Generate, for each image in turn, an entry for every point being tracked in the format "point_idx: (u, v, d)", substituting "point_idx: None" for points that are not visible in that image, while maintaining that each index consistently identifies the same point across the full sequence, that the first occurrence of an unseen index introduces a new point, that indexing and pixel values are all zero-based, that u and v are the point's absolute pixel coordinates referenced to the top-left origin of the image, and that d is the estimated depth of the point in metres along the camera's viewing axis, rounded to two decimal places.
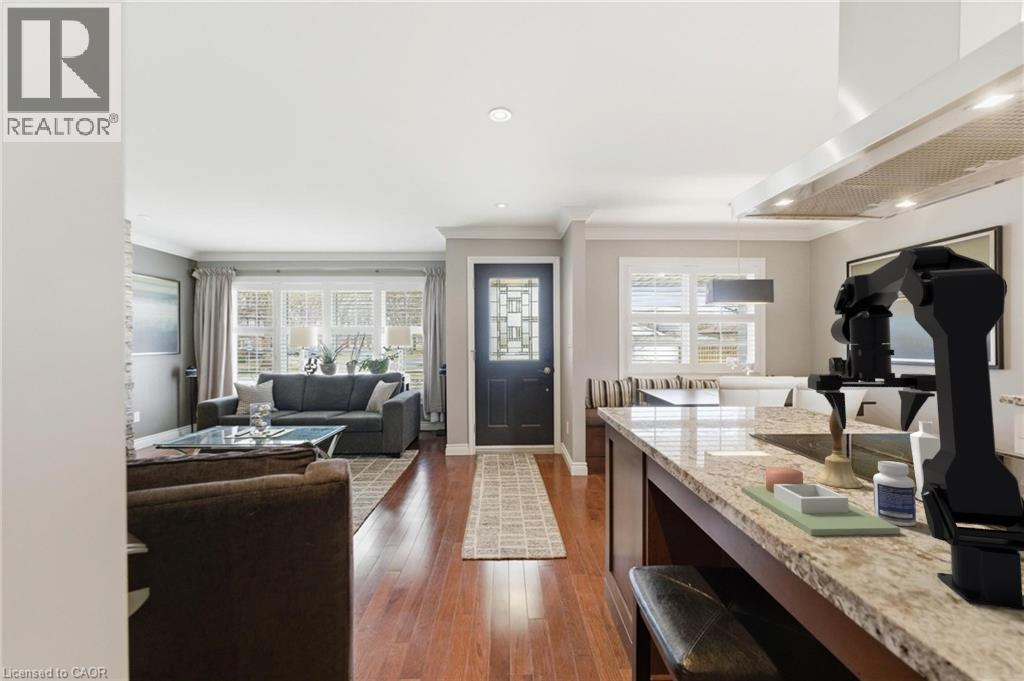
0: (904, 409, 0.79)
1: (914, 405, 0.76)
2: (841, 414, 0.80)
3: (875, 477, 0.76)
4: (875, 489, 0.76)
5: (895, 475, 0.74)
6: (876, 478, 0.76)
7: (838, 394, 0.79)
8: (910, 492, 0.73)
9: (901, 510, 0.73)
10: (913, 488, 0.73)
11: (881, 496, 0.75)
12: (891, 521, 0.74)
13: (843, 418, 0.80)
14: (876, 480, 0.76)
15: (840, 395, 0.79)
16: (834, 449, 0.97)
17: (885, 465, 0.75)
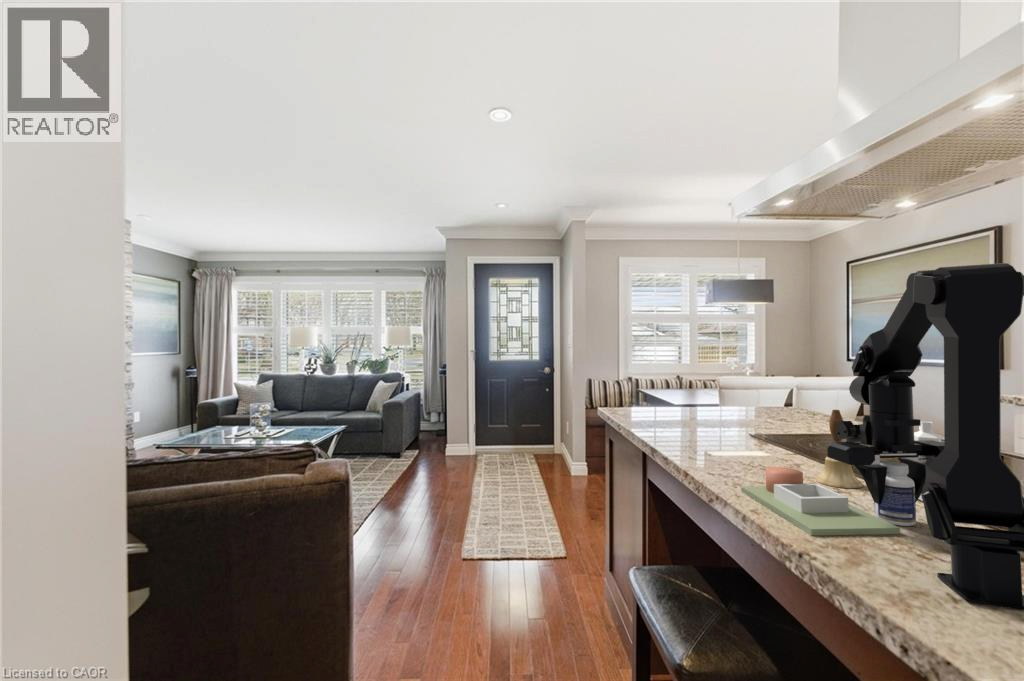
0: None
1: (926, 477, 0.73)
2: (880, 489, 0.74)
3: None
4: None
5: (895, 475, 0.74)
6: None
7: (881, 468, 0.73)
8: (910, 492, 0.73)
9: (901, 510, 0.73)
10: (913, 488, 0.73)
11: None
12: (891, 521, 0.74)
13: (881, 493, 0.74)
14: None
15: (883, 469, 0.73)
16: None
17: (885, 465, 0.75)
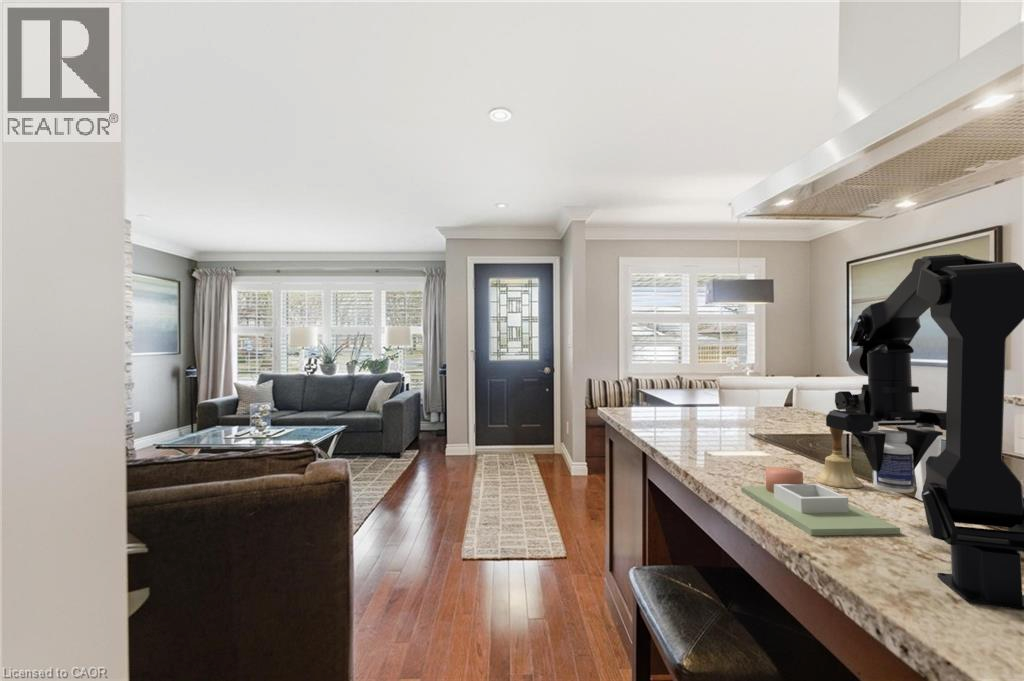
0: None
1: (924, 444, 0.74)
2: (878, 456, 0.74)
3: None
4: None
5: (893, 443, 0.74)
6: None
7: (880, 435, 0.73)
8: (909, 459, 0.73)
9: (899, 477, 0.73)
10: (911, 455, 0.73)
11: None
12: (889, 488, 0.74)
13: (880, 460, 0.74)
14: None
15: (881, 436, 0.73)
16: (834, 449, 0.97)
17: None
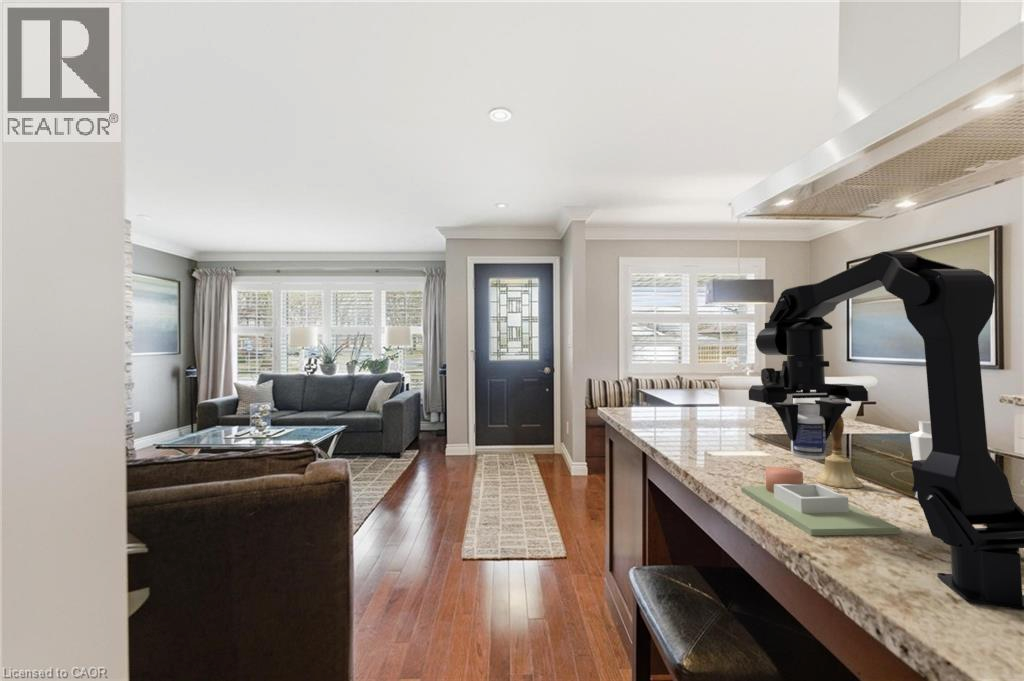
0: (824, 419, 0.81)
1: (835, 415, 0.79)
2: (793, 426, 0.80)
3: None
4: None
5: (806, 413, 0.80)
6: None
7: (793, 406, 0.79)
8: (820, 428, 0.79)
9: (811, 445, 0.79)
10: (823, 424, 0.79)
11: None
12: (803, 455, 0.80)
13: (794, 430, 0.80)
14: None
15: (794, 407, 0.79)
16: (834, 449, 0.97)
17: (799, 404, 0.81)
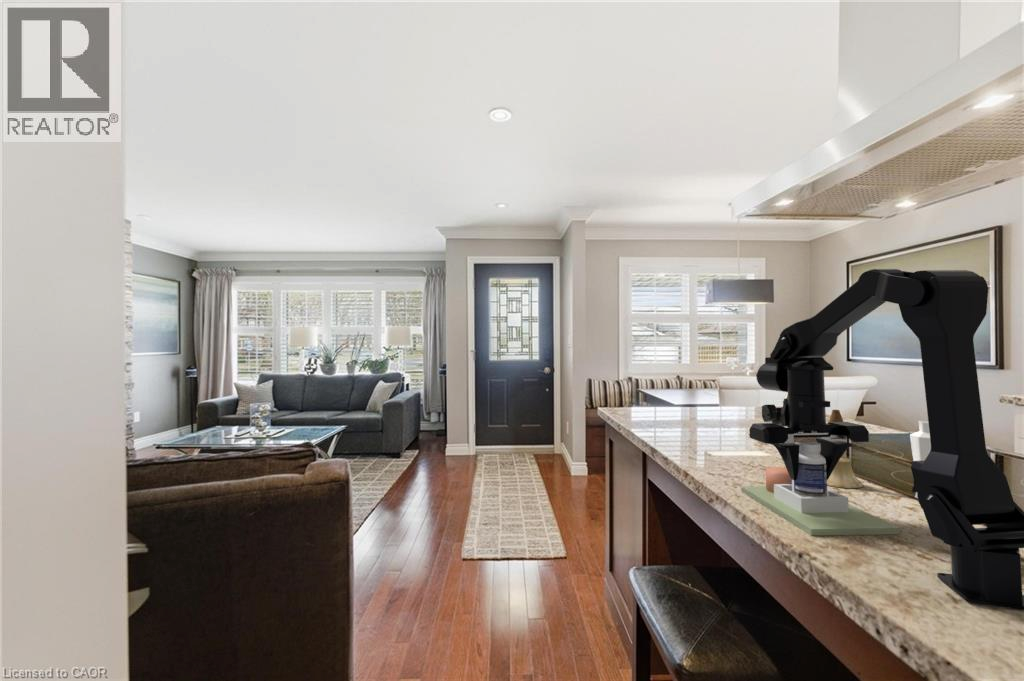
0: (825, 458, 0.81)
1: (836, 455, 0.79)
2: (794, 466, 0.80)
3: None
4: None
5: (808, 453, 0.80)
6: None
7: (794, 446, 0.78)
8: (821, 468, 0.79)
9: (812, 485, 0.79)
10: (824, 465, 0.79)
11: None
12: (804, 496, 0.79)
13: (795, 469, 0.80)
14: None
15: (795, 447, 0.78)
16: None
17: (800, 444, 0.81)
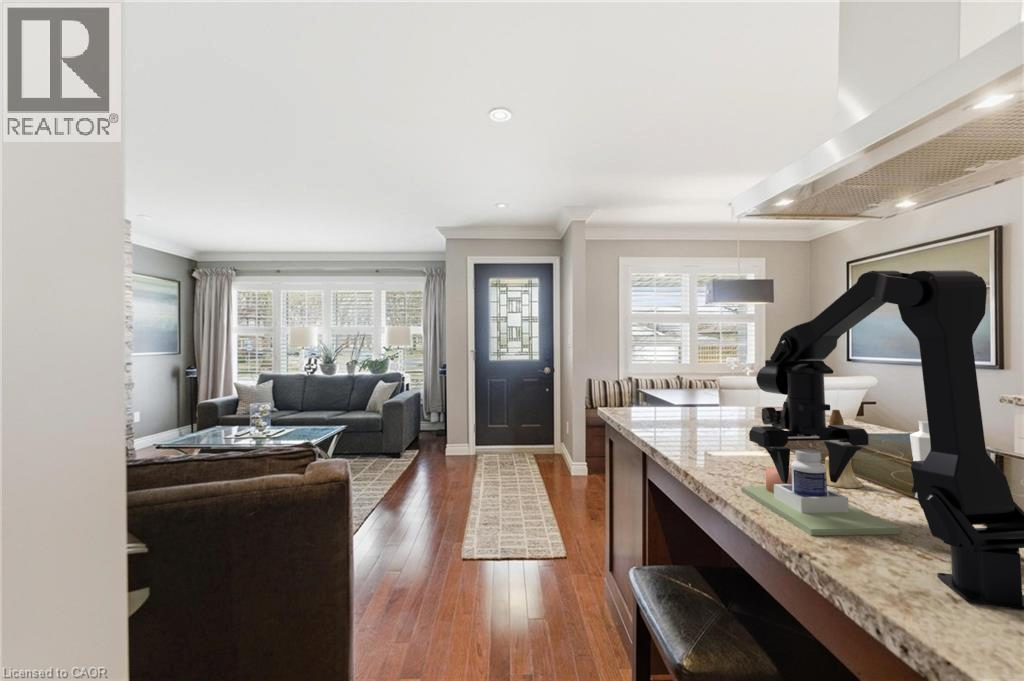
0: (833, 461, 0.81)
1: (845, 458, 0.79)
2: (785, 469, 0.80)
3: (792, 464, 0.82)
4: (792, 475, 0.82)
5: (808, 462, 0.80)
6: (793, 465, 0.82)
7: (784, 450, 0.78)
8: (821, 477, 0.79)
9: (812, 494, 0.79)
10: (824, 473, 0.79)
11: (796, 482, 0.81)
12: None
13: (786, 473, 0.80)
14: (793, 467, 0.81)
15: (786, 451, 0.78)
16: None
17: (800, 452, 0.81)
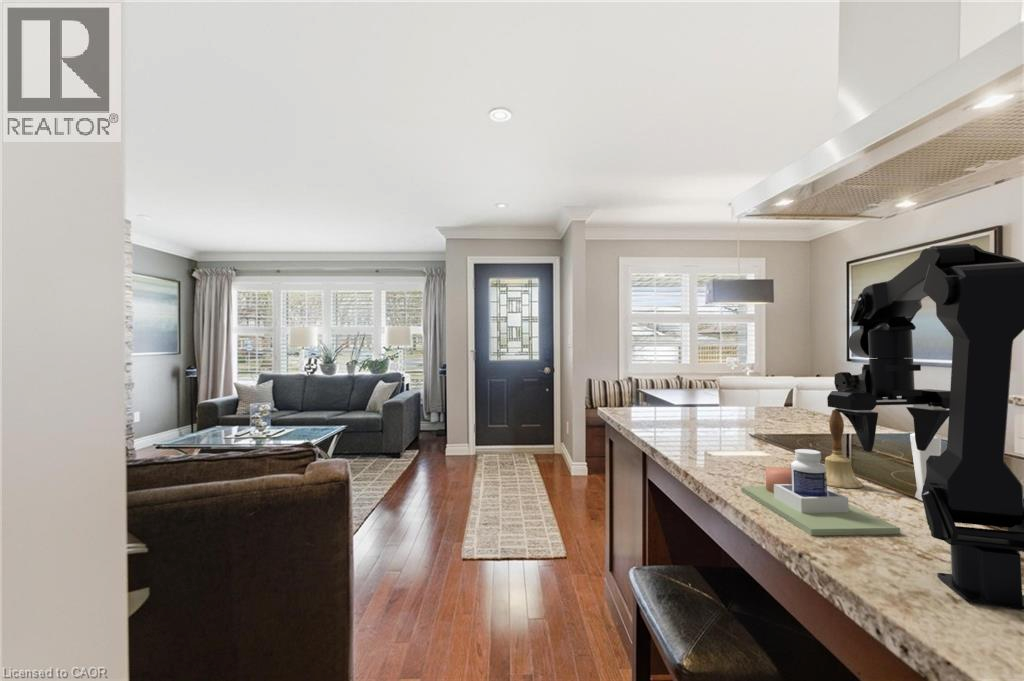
0: (921, 427, 0.74)
1: (936, 423, 0.72)
2: (871, 436, 0.73)
3: (792, 464, 0.82)
4: (792, 475, 0.82)
5: (808, 462, 0.80)
6: (793, 465, 0.82)
7: (872, 414, 0.71)
8: (821, 477, 0.79)
9: (812, 494, 0.79)
10: (824, 473, 0.79)
11: (796, 482, 0.81)
12: None
13: (872, 440, 0.73)
14: (793, 467, 0.81)
15: (874, 415, 0.71)
16: (834, 449, 0.97)
17: (800, 452, 0.81)
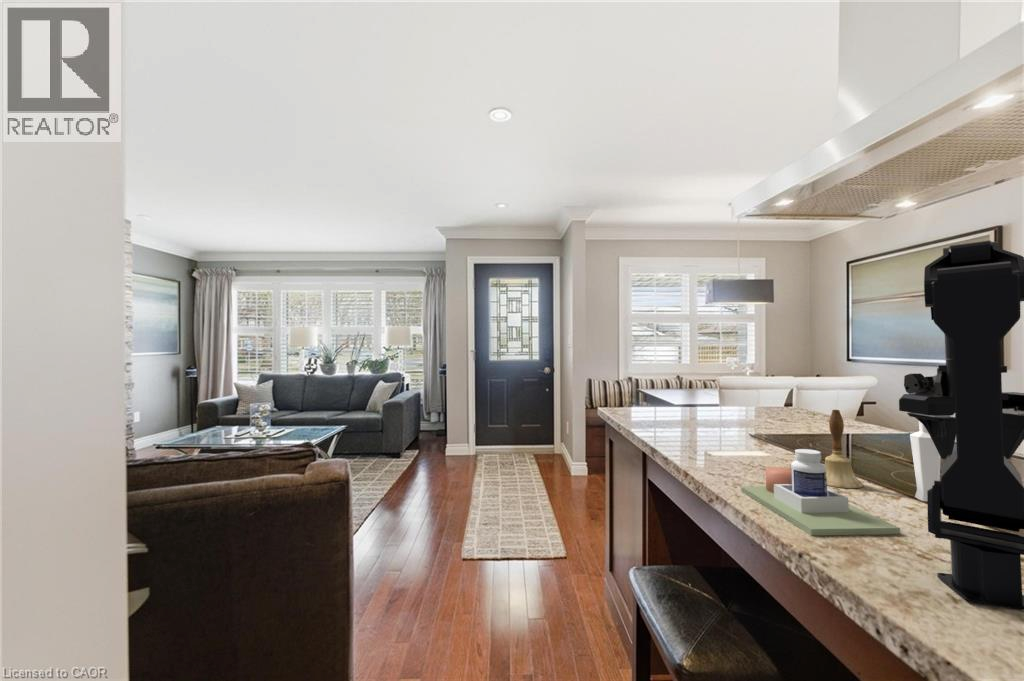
0: (1005, 434, 0.69)
1: None
2: (950, 443, 0.68)
3: (792, 464, 0.82)
4: (792, 475, 0.82)
5: (808, 462, 0.80)
6: (793, 465, 0.82)
7: (952, 419, 0.66)
8: (821, 477, 0.79)
9: (812, 494, 0.79)
10: (824, 473, 0.79)
11: (796, 482, 0.81)
12: None
13: (951, 447, 0.68)
14: (793, 467, 0.81)
15: (954, 421, 0.66)
16: (834, 449, 0.97)
17: (800, 452, 0.81)
